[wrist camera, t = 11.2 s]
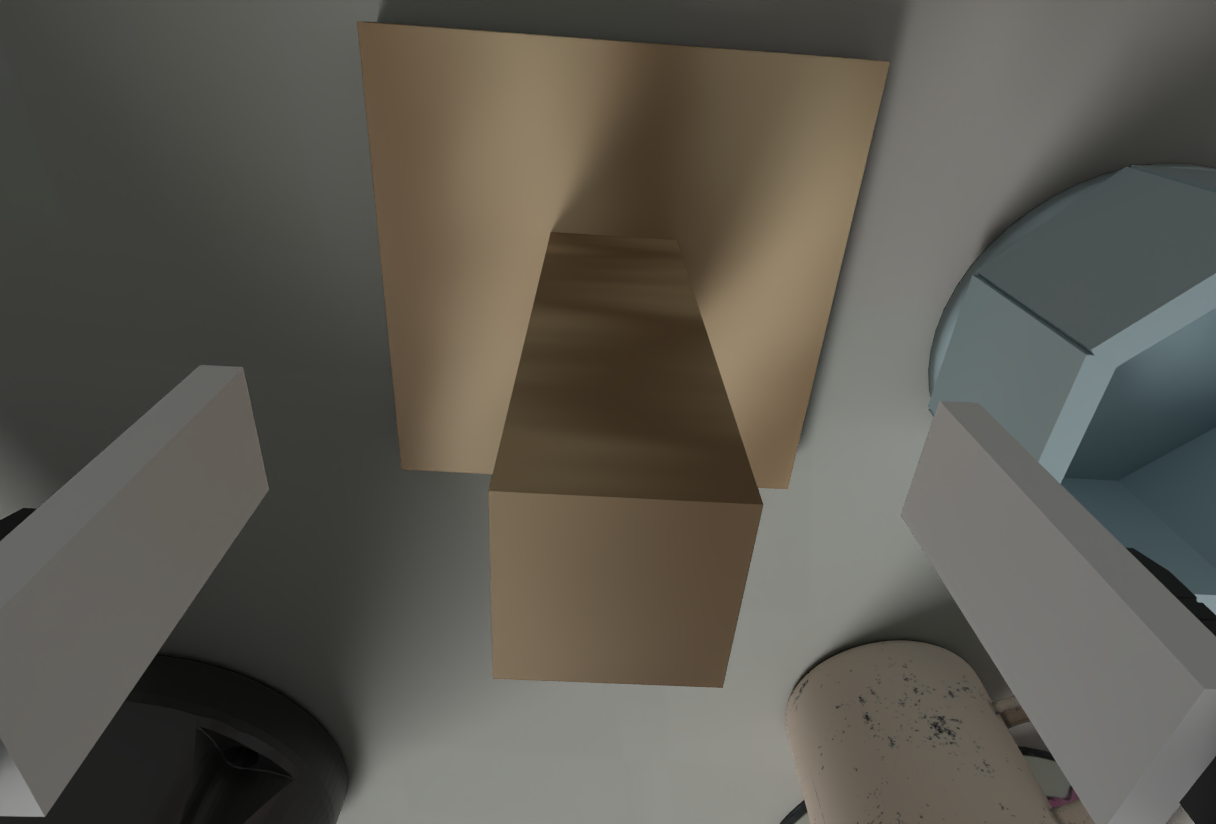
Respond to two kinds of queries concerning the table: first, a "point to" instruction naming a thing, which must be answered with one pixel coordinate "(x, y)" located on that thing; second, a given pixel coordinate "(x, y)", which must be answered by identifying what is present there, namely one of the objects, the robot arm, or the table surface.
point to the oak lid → (610, 315)
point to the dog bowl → (1040, 766)
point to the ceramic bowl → (1104, 354)
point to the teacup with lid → (911, 743)
